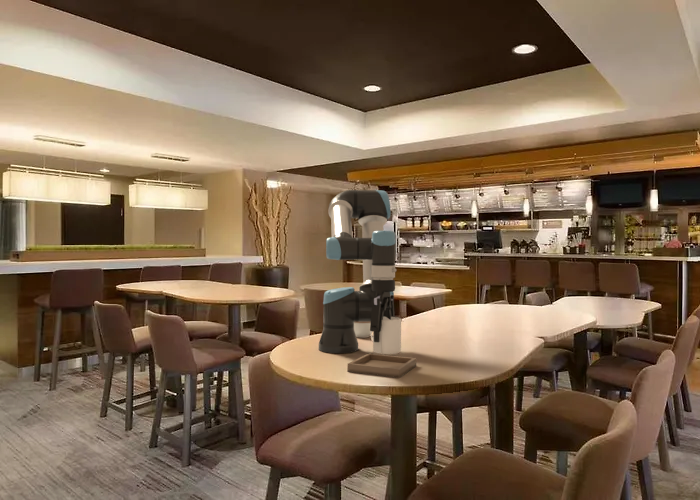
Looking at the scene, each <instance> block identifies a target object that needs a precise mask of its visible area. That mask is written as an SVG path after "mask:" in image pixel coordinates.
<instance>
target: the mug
mask: <svg viewBox="0 0 700 500" xmlns="http://www.w3.org/2000/svg"><path fill="white" fill-rule="evenodd" d="M381 331H382V353H377V352H375V354H379V355H398V354H399V353H401V350H402V349H401V348H402V318H401V317H397V316H395V317H391V320H390V319H388V318H387V317H383V320H382V327H381ZM370 333H371V335H370V339H371V341H372V343H373V332H372V331H370Z"/></svg>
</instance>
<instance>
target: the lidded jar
mask: <svg viewBox="0 0 700 500" xmlns="http://www.w3.org/2000/svg"><path fill="white" fill-rule="evenodd" d="M370 324H371V322H354V331H355V334H356V338H361V339H363V338H369V337H371V333H370ZM372 333H373V331H372Z"/></svg>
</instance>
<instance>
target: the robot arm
mask: <svg viewBox="0 0 700 500" xmlns="http://www.w3.org/2000/svg"><path fill="white" fill-rule="evenodd" d="M327 209H328V216H329V218H330V220H331V223H330V224H331V226H330V227H331V230H330V231H331V236H330V237H327V238H326V240H325V242H326V243H325V244H326V245H325V246H326V248H325V250H326V251H325V253H326V255H325V256H326V259H328V260H334V261H335V260H336V261H340V260H341V261H342V260H343V261H344V260H347V261H349V260H354V261H355V260H357V261H359V260H361V261H362V274H363V275H362V279H363V282H362V284H360V285H359V288H358V289H359V290H355V288H354V286H347V287H346V286H345V287H344V286H343V287H339V288H338V287H337V288H332V289H328V290H326V291H324V294H323V302H322V304H323V316H322V317H323V329H322V332H321V336H320V338H319V340H318V341H319V342H318V350H319V351H320V352H323V353H330V354H347V353H353V352H357V351H359V342H358V341H359V340H358V337H356V334H355V331H354V322H371V324H370V331H373V332H372V337H373V342H372V353H376V352H377V353H376V354H379V353H382V331H381V327H382V320H383V317H387V318H388V319H390V320H391V317H396V316H395V304H394V303H395V291H396V281H395V279H394V278H396V272H397V268H396V243H397V240H396V232H395V231H392V230H384V227H385V225H386V224H387V222H388V219H390V218H391V216H392V215H391V213H392V212H391V200H390V197H389V194H388V192H387V191H385V190H378V189H346V190H344V191H341V192H339V193H338V194H336V196H334V197H333V198H332V199H331V200H330V202H329V204H328V208H327ZM352 219H358V220H357V222H358V224H359V225H360V226H361V227H362V228H361V232H362V233H361V235H362V237H353V226H352Z"/></svg>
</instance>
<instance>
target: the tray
mask: <svg viewBox="0 0 700 500" xmlns="http://www.w3.org/2000/svg"><path fill="white" fill-rule="evenodd" d="M415 367H417V358H416V357H410V356H409V357H407V356H397V355H396V356H395V355H390V354H379V353H367V354H365V355H362V356H360V357H358V358H356V359H354V360H352V361H350V362H348V363H347V371H346V372H348V373H357V374H364V375H372V376H378V377H379V376H380V377H389V378H396V379H397V378H399V379H400V378H401V377H403V376H404V375H406V374H407V373H408V372H410V371H411V370H413V369H414V368H415Z"/></svg>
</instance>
